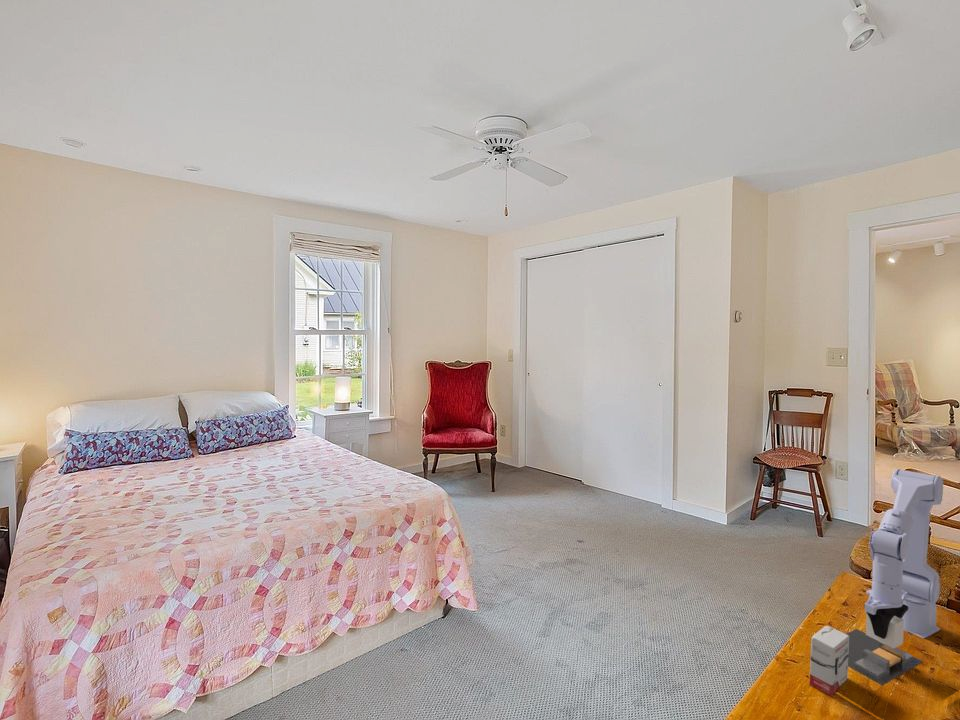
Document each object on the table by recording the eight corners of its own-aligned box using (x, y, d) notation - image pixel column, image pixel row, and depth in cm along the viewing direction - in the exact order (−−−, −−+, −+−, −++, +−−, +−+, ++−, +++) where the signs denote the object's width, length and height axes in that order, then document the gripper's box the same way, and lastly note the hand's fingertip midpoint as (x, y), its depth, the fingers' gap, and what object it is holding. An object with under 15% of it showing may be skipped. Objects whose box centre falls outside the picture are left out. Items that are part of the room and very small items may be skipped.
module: (874, 630, 127) (875, 607, 127) (903, 643, 122) (903, 619, 122) (865, 634, 126) (866, 611, 125) (893, 648, 120) (894, 624, 120)
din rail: (856, 631, 138) (856, 618, 138) (923, 664, 124) (923, 649, 124) (815, 651, 130) (815, 637, 130) (881, 688, 117) (882, 672, 116)
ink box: (832, 697, 114) (833, 647, 114) (808, 684, 119) (809, 636, 118) (848, 682, 119) (850, 634, 118) (825, 670, 123) (826, 623, 122)
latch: (879, 649, 127) (879, 647, 127) (900, 660, 123) (900, 658, 123) (867, 655, 125) (868, 653, 125) (889, 667, 121) (889, 664, 121)
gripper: (884, 566, 129) (883, 617, 130) (851, 579, 123) (849, 633, 124) (918, 578, 123) (916, 632, 124) (884, 593, 117) (882, 649, 118)
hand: (885, 633), depth 124 cm, fingers closed on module, 4 cm apart
